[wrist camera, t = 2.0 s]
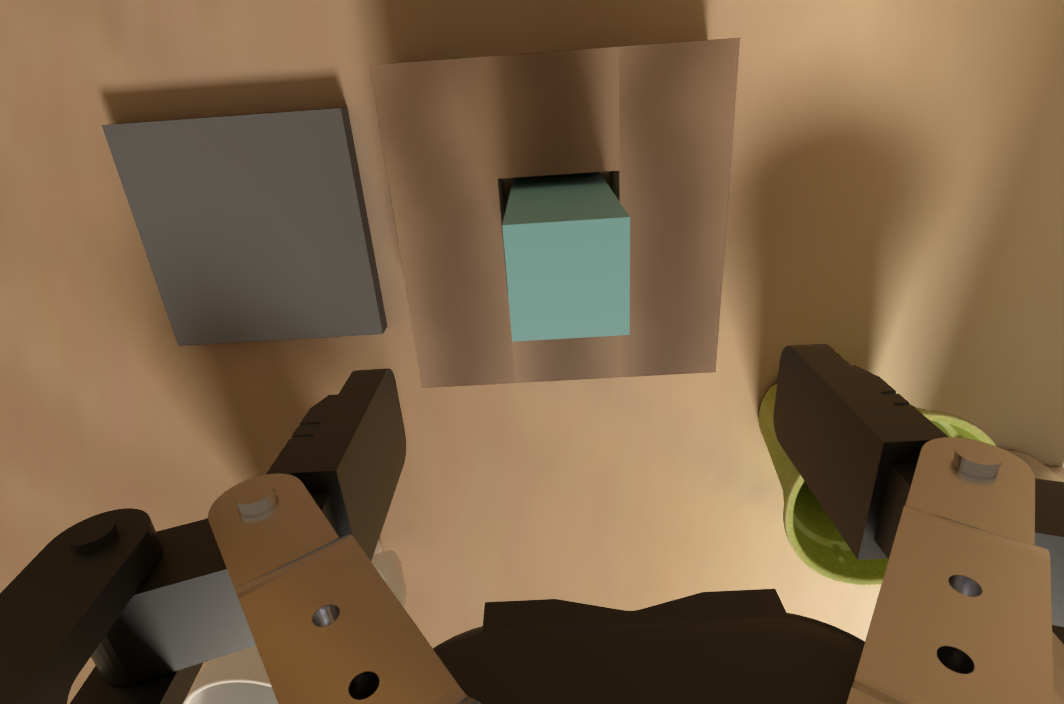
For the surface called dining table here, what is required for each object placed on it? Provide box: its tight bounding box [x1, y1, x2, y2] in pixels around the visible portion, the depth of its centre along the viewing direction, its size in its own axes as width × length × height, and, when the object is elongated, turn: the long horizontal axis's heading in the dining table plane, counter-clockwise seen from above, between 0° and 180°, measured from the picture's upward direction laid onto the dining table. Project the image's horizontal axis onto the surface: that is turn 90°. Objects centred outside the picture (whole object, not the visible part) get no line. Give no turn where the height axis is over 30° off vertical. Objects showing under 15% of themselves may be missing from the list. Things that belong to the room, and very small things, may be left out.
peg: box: [502, 172, 630, 342], centre depth 24 cm, size 4×4×10 cm
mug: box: [183, 540, 407, 704], centre depth 33 cm, size 10×7×12 cm, turn 110°
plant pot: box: [759, 383, 996, 585], centre depth 30 cm, size 9×9×9 cm
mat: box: [102, 107, 387, 346], centre depth 29 cm, size 11×11×1 cm
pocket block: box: [370, 38, 740, 388], centre depth 27 cm, size 14×14×4 cm
